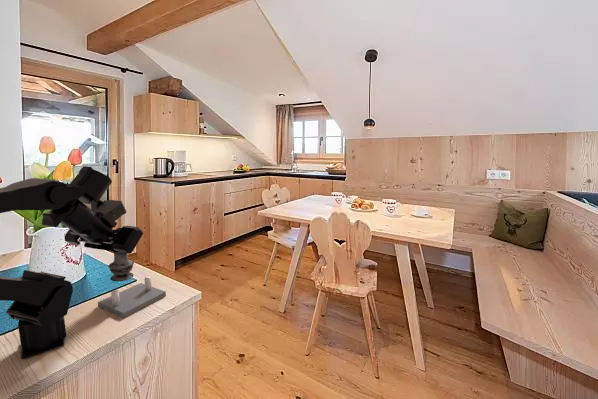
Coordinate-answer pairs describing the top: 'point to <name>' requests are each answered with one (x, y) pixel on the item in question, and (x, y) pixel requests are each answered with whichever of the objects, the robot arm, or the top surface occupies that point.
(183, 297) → the top surface
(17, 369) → the top surface
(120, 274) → the grey tall turned piece
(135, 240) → the robot arm
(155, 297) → the pin tray
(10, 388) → the top surface
